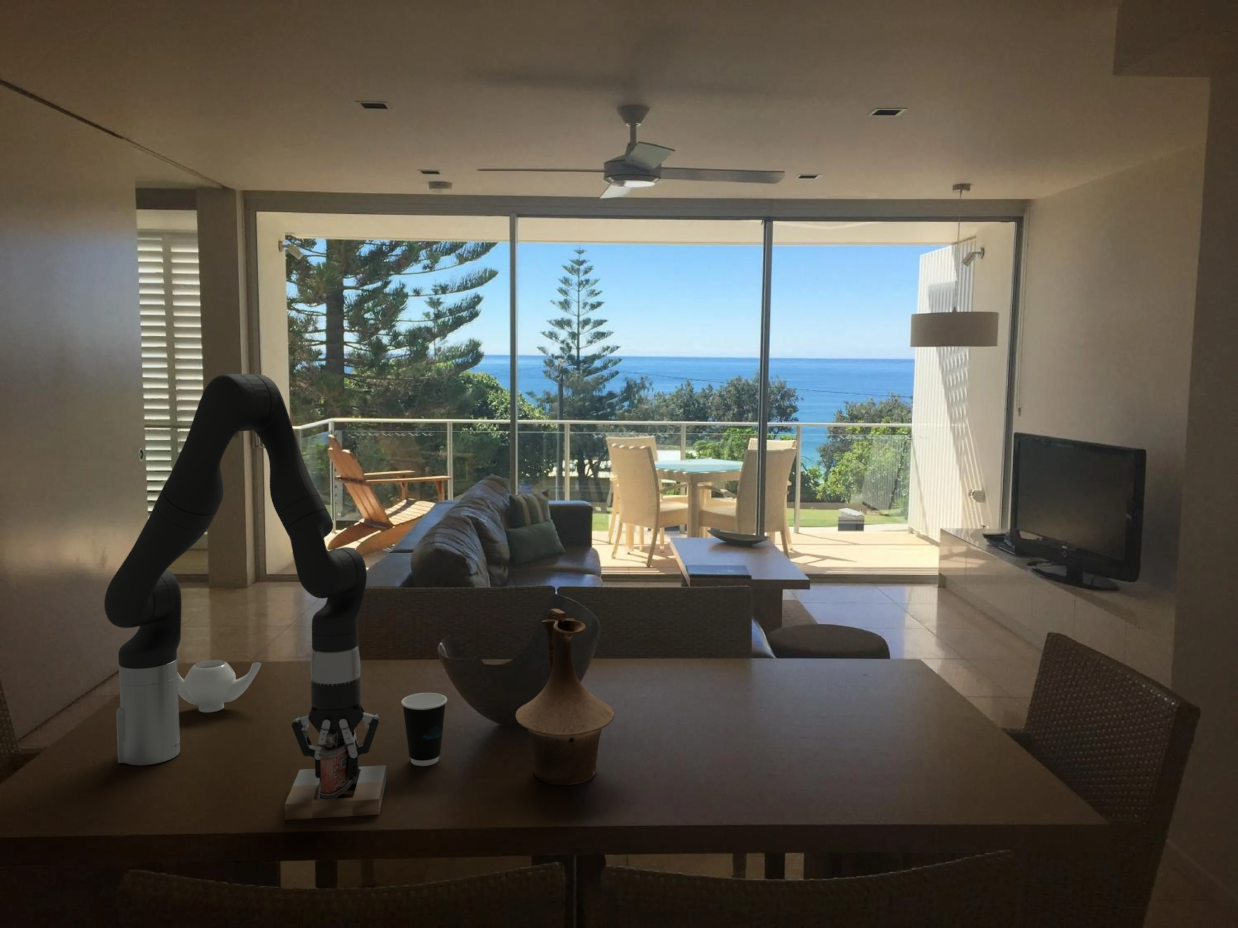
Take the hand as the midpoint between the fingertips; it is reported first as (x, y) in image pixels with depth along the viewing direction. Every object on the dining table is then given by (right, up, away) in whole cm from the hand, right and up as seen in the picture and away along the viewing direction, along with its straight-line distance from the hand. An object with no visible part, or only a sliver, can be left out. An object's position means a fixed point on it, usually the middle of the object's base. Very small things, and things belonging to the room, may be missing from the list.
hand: (337, 778), depth 155 cm
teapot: (-37, +1, +41) cm, 56 cm away
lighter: (0, -2, 0) cm, 2 cm away
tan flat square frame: (0, -3, 0) cm, 3 cm away
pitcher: (+36, -3, +12) cm, 38 cm away
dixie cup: (+11, -2, +16) cm, 20 cm away
